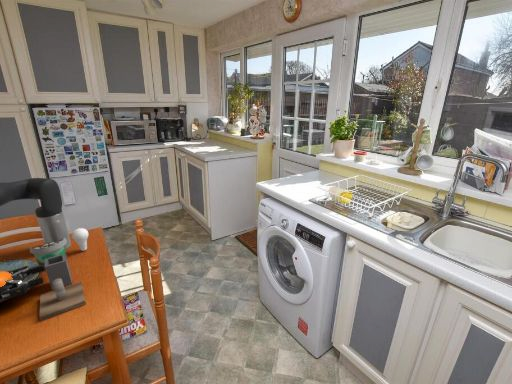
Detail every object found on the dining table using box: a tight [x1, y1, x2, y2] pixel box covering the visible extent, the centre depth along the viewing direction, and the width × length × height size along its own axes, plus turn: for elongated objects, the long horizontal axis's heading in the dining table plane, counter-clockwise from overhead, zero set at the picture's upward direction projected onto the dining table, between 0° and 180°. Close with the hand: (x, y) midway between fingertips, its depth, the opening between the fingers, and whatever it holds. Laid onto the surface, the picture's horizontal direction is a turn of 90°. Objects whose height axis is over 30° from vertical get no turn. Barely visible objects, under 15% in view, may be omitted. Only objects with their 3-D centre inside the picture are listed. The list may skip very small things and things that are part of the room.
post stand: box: [39, 278, 87, 322], centre depth 89 cm, size 12×12×8 cm
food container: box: [29, 238, 68, 270], centre depth 108 cm, size 12×6×10 cm, turn 131°
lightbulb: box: [71, 227, 89, 252], centre depth 118 cm, size 6×6×11 cm
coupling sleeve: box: [44, 254, 73, 291], centre depth 97 cm, size 6×6×10 cm
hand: (43, 273), depth 95 cm, fingers open, 8 cm apart
